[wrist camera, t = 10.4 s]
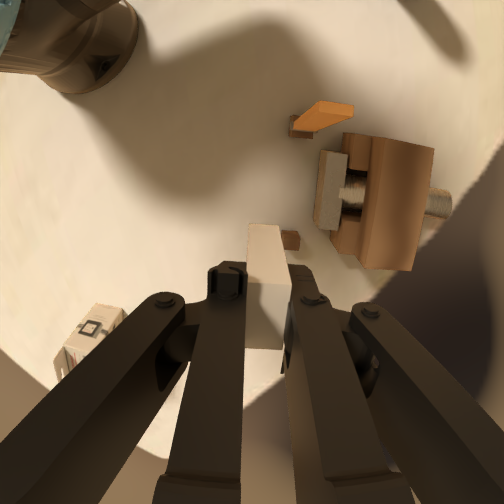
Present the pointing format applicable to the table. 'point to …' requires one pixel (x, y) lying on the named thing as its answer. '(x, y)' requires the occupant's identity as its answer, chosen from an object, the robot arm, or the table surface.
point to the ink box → (87, 337)
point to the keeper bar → (322, 116)
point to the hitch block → (381, 201)
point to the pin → (357, 193)
